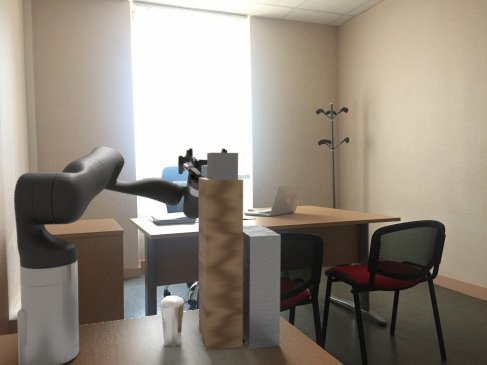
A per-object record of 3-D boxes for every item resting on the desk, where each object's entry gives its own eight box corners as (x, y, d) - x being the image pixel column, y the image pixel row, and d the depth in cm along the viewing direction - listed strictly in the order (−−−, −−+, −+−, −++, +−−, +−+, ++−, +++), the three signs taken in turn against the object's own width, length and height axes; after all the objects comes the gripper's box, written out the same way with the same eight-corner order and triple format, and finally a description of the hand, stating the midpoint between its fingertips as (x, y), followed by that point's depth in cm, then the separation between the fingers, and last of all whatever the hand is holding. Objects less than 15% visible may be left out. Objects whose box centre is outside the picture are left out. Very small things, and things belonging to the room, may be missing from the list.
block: (211, 179, 73) (211, 152, 73) (197, 176, 91) (197, 154, 91) (237, 179, 74) (238, 152, 74) (218, 176, 92) (218, 154, 92)
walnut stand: (206, 350, 74) (206, 179, 73) (198, 328, 84) (198, 177, 82) (242, 346, 76) (243, 179, 74) (231, 325, 86) (231, 177, 84)
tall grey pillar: (249, 349, 75) (250, 236, 74) (235, 324, 86) (235, 226, 85) (279, 346, 76) (280, 235, 75) (261, 321, 88) (262, 225, 87)
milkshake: (183, 349, 74) (183, 297, 74) (156, 347, 76) (156, 295, 75) (191, 339, 79) (191, 289, 78) (166, 336, 80) (165, 288, 79)
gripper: (175, 168, 116) (179, 138, 101) (223, 168, 119) (233, 139, 105) (176, 191, 112) (180, 163, 98) (225, 190, 116) (236, 163, 102)
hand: (208, 151), depth 102 cm, fingers open, 8 cm apart
